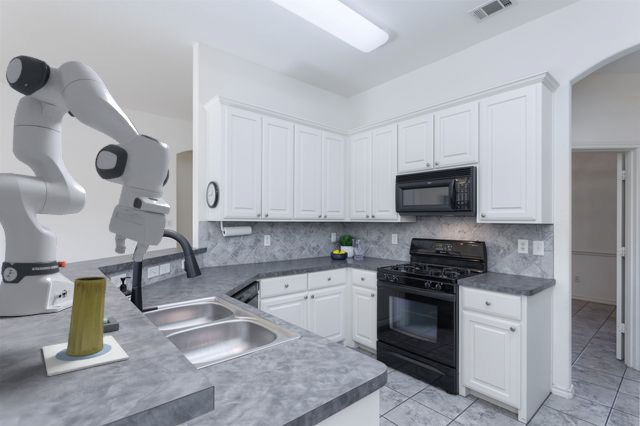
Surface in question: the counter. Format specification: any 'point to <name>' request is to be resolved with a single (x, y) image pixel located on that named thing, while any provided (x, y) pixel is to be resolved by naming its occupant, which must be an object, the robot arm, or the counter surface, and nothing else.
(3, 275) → the robot arm
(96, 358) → the paper pad
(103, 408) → the counter surface
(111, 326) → the button collar
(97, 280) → the vase
